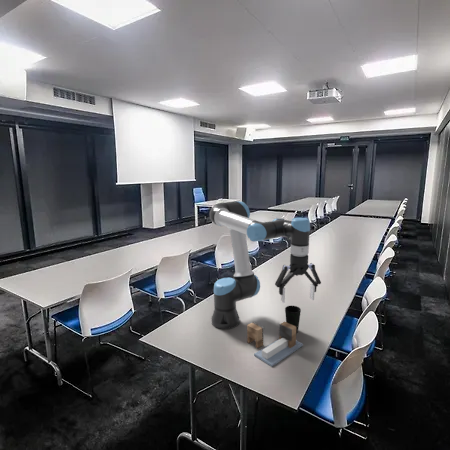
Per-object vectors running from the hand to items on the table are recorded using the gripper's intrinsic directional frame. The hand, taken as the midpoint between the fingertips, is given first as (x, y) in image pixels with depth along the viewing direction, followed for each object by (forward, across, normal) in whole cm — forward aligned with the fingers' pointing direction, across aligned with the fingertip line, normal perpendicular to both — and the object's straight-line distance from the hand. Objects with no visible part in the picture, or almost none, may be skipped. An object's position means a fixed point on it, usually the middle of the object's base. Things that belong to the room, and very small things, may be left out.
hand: (297, 300), depth 129 cm
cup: (+24, +4, +14) cm, 28 cm away
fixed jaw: (+23, -3, +3) cm, 23 cm away
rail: (+24, -8, 0) cm, 25 cm away
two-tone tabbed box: (+24, -17, +7) cm, 30 cm away
